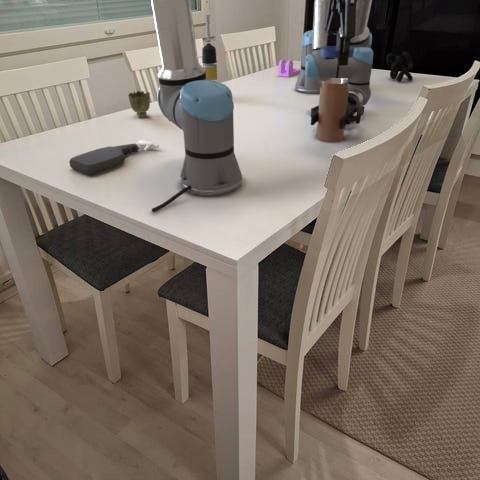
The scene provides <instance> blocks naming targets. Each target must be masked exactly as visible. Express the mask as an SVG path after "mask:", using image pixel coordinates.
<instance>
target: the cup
mask: <svg viewBox="0 0 480 480" xmlns="http://www.w3.org/2000/svg"><path fill="white" fill-rule="evenodd" d="M150 95H151V94H150V91H146V93H145V91H143V90H142V91H140V90H137V91H133V92H130V93H127V96H128V100H129V104H130V107H131V109H132V111H133V112H135V113H136V114H135V115H136V116H137V117H138V118H144V117H146V116H147V115H148V113H147V112H148V111H149V110H150V105H151V103H150V102H151V101H150V100H151V97H150Z"/></svg>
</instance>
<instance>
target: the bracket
mask: <svg viewBox="0 0 480 480" xmlns="http://www.w3.org/2000/svg"><path fill="white" fill-rule="evenodd" d="M300 71H301V68H297V67H296V68H295V67H294V62H293V60H289V59H288V60H287V62H286V60H285V59H279V61H278V74H277V75H278V77H284V78H290V77H293V76H296V75H299V74H300Z"/></svg>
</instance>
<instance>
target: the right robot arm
mask: <svg viewBox="0 0 480 480" xmlns="http://www.w3.org/2000/svg"><path fill="white" fill-rule="evenodd" d="M372 2H373V0H357V4H356V28H355V37H354V38H352V39H351V40H350V47H352V48H354V54H353V57H350V58H348V65H344V66H338V65H337V62H338V58H335V59H325V57H323V56H320V50H321V47H324V46H326V41H327V35H328V34H327V33H326V31H325V30H324V28H325V22H326V16H327V10H328V4H329V0H314V3H313V21H312V29H311V30H308V31H305V32H304V33H303V34H302V40H301V57H300V73H299V74H298V77H297V80H296V82H295V87H294V88H295V91H296V92H298V93H301V94H308V95H320V86H321V85H322V80H323V79H327V78H341V79H347V80H348V82H349V83H348V86H349V91H348V100H347V110H346V115H345V116H344V117H343V118H342V119H341V120H340V129H343V128H344V127H345V128H346V127H347V126H348V125H351V124H353V123H354V122H355V124H360V123H361V119H362V117H363V116H364V115H365V109H366V107H365V105H366V104H367V103H368V102H369V101H370V98H371V96H372V90H371V88H370V87H371V86H370V85H371V76H372V69H373V64H374V63H373V62H374V61H373V60H374V51H373V49H372V43H373V35H372V33H371V32H370V29H369V27H368V22H369V18H370V17H369V16H370V12H371V7H372ZM341 36H342V35H341V26H339V29H338V34H337V41H336V46H339V43H340V40H339V38H340V37H341ZM318 111H319V104H318V105H316V106H314V107H311V108H310V126H314V125H315V124H318ZM345 128H344V129H345Z"/></svg>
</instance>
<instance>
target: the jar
mask: <svg viewBox="0 0 480 480" xmlns="http://www.w3.org/2000/svg"><path fill="white" fill-rule="evenodd" d="M348 83H349V82H348V79H347V78H327V79H323V80H322V85H321V86H320V94H319V99H318V100H319V101H318V105H319V111H318V122H317V123H316V124H317V125H316V139H317V140H319V141H320V142H321V141H322V142H326V143H336V142H340V141H343V140H344V136H345V128H346V126H345V127H344V128H343V129H340V120H341V119H342V118H343V117H344V116H345V115H346V110H347V100H348V91H349V86H348Z"/></svg>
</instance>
